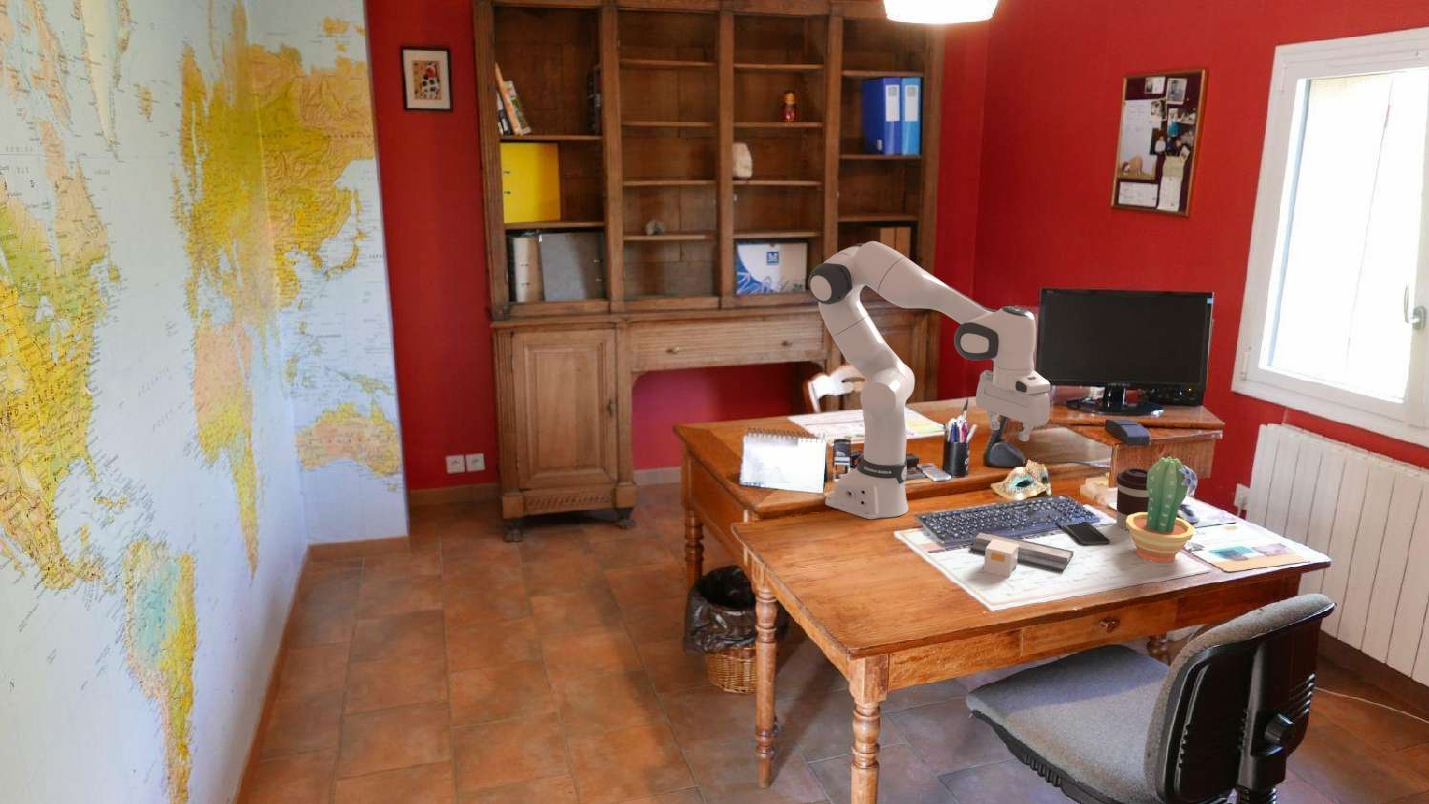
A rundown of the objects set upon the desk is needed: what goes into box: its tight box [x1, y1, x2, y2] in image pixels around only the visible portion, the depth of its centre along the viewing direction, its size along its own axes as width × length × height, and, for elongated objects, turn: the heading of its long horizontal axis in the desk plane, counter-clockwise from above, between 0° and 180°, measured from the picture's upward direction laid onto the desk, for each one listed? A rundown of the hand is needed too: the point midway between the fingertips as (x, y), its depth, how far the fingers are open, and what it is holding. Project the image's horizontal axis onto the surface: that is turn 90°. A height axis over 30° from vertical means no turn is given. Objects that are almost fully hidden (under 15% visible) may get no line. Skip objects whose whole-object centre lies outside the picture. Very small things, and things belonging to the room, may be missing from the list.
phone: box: [1063, 520, 1111, 547], centre depth 249 cm, size 8×1×15 cm
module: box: [983, 539, 1019, 578], centre depth 228 cm, size 6×6×6 cm
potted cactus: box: [1126, 455, 1198, 564], centre depth 234 cm, size 15×15×25 cm
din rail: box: [970, 532, 1075, 574], centre depth 237 cm, size 22×11×2 cm, turn 59°
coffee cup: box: [1116, 467, 1149, 531], centre depth 251 cm, size 10×10×15 cm
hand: (1009, 434), depth 228 cm, fingers open, 8 cm apart
